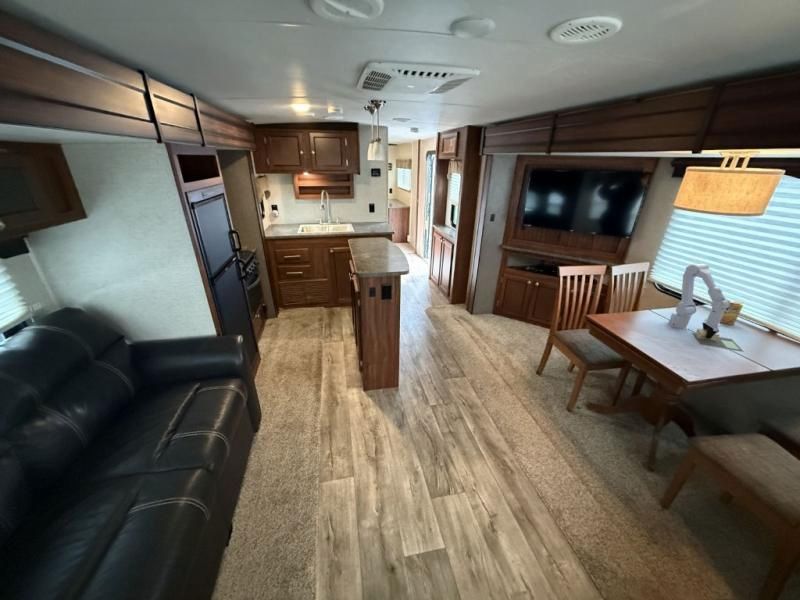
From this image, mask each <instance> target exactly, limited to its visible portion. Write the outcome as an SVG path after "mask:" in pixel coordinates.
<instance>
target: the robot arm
mask: <svg viewBox="0 0 800 600" xmlns="http://www.w3.org/2000/svg"><path fill="white" fill-rule="evenodd" d="M711 271H712V270H711V268H710V266H709V265H708V264H706V263H700V264H699V263H698V264H690V265H688V266H687V267H685V271H684V273H683V275H682V286H681V301H679V303H677V306H676V308H675V312H673V313H671V315H670V318H669V321H668V324H669V326H670V327H672V328H678V329H683V330H689V327H688V324H689V323H690V320H691V318H692V316H693V315H694V314H696V312H697V307H696V303H695V302H694V300H693V298H694V287H695V286H694V285H695V278H701V279H702V281H703V283H704V284H705V285H706V287H707V288H708V289H707V294H708V295H709V298H710V300H711V304H710V305H711V309H710V311H709V314H708V317H707V318H704V319H705V320H704V322H702V323H701V324H702V329H705V330H707V334H706V338H709V339H710V338H711V337H712V336H713V335H714V334H716V333H719V332H720V328H719V327H721V326H722V325H721V324H720V323H721V322H720V320H721V318H722V316H723V314H724V312H725V310H726V308H728V307H729V306H730V301H731V300H729V299H728V298H726V297H725V295H724V294H723V290H722V289H721V288H719V287H717V286H716V284H715V281H714V279H713V276H712V275H711V274H712V273H711ZM724 308H725V309H724Z"/></svg>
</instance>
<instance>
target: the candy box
mask: <svg viewBox="0 0 800 600" xmlns="http://www.w3.org/2000/svg"><path fill="white" fill-rule="evenodd" d="M729 301H730V306H729V307H728V308H726V310H725V312H724V314H723V316H722V318H721V320H720V323H725V324H728V325H732V326H734V325H735V323H736V322H737V318H738V317H739V315H740V312H741V311H742V309H743V306H744V304H743V302H737V301H731V300H729ZM724 309H725V308H724Z"/></svg>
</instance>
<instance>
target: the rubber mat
mask: <svg viewBox="0 0 800 600" xmlns="http://www.w3.org/2000/svg"><path fill="white" fill-rule="evenodd" d="M691 334H692V335H693V337H694V339H695V340H696V341H697V342H698V344H699V345H701V346H707V347H708V346H709V347H713V348H718V349H719V348H721V349H725V350H730V351H731V350H732V351H737V352H742V353H743V352H745V351H744V350H743V349H742V348H741V347H740V346H739V345H738V344H737V343H736V342H735V341H734V339H732V338H727V337H722V336H719V337H718V339H717V341H713V340H707V339H701V338H698V337H697V336H696V335H695V334H696V332H691Z"/></svg>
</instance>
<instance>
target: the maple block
mask: <svg viewBox="0 0 800 600" xmlns="http://www.w3.org/2000/svg"><path fill="white" fill-rule="evenodd" d="M695 333H696V334H695V335H696V336H697V337H698V338H701V339H707V340H713V341H717V339H718V337H720V334H719V332H717V333H716V334H714V335H713V336H712V337H711V338H710V339H709V338H706V334H707V330H705V329H703V328H697V329H696V331H695Z"/></svg>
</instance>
